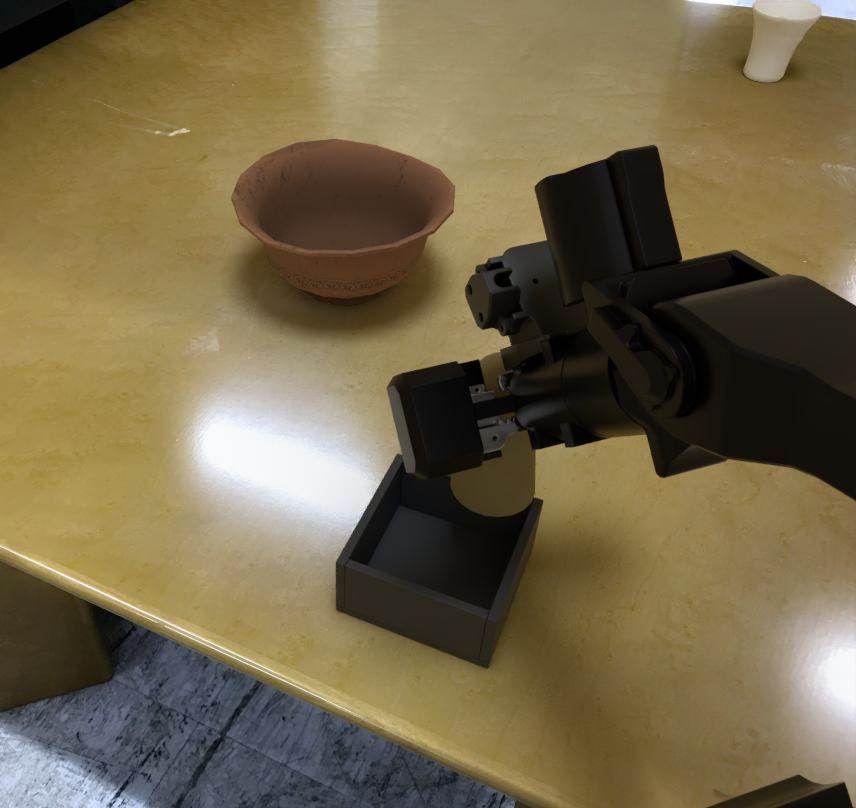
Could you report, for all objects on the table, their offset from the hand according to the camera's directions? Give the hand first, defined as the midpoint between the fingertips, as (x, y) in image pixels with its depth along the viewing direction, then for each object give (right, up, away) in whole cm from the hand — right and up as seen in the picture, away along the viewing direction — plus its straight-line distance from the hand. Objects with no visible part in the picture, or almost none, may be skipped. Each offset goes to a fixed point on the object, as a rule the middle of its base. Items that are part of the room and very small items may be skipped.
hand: (494, 405), depth 61 cm
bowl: (-9, +13, +34) cm, 38 cm away
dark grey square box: (-3, -13, +6) cm, 14 cm away
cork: (+1, -6, +4) cm, 7 cm away
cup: (+53, +48, +70) cm, 100 cm away
